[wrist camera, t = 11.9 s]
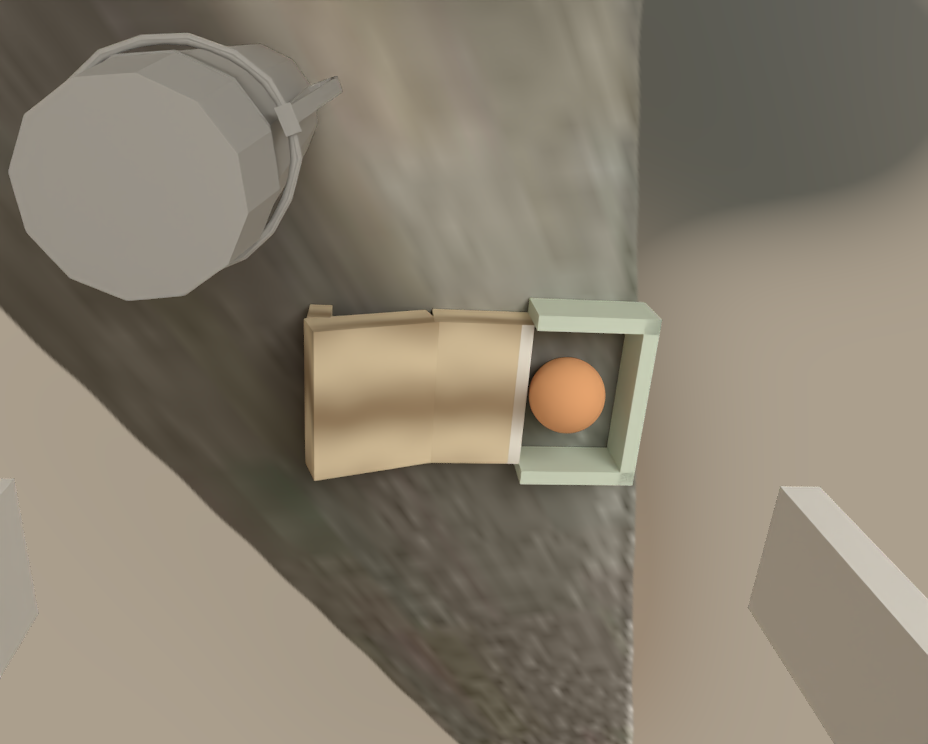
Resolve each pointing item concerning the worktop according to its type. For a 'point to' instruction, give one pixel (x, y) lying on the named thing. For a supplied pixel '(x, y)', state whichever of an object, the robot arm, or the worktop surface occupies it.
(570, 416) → the ball
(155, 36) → the water bottle
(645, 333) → the tray
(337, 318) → the ramp lane
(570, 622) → the worktop surface
